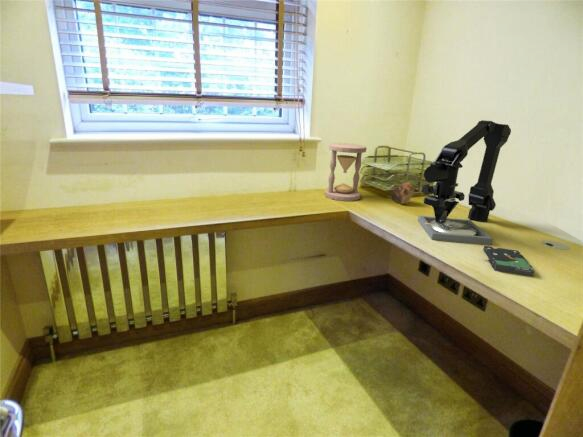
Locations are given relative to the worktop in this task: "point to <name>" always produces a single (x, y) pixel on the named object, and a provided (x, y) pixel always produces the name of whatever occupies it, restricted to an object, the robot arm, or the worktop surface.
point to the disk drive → (508, 261)
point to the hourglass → (343, 190)
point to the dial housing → (478, 239)
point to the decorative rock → (403, 193)
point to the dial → (451, 226)
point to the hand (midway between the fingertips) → (440, 219)
